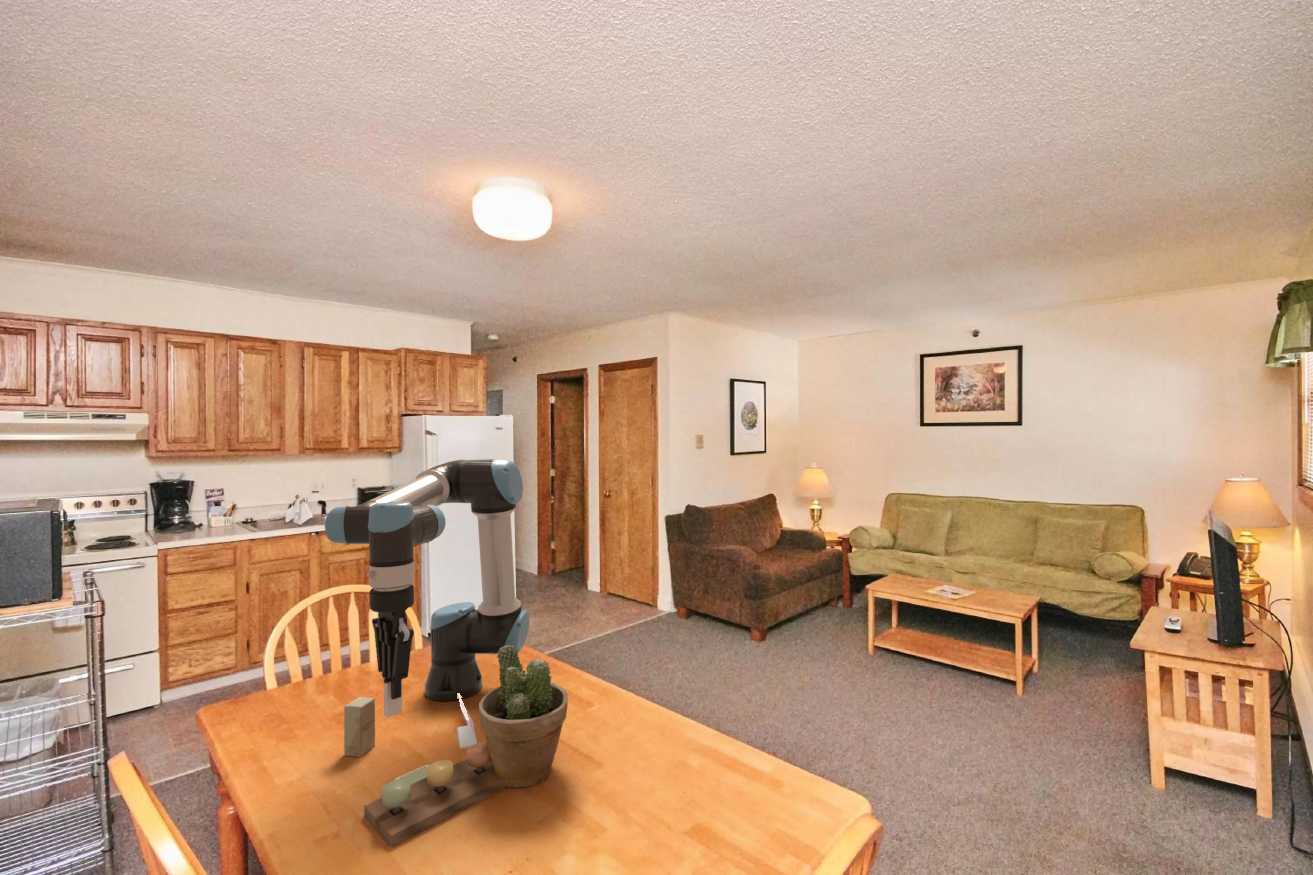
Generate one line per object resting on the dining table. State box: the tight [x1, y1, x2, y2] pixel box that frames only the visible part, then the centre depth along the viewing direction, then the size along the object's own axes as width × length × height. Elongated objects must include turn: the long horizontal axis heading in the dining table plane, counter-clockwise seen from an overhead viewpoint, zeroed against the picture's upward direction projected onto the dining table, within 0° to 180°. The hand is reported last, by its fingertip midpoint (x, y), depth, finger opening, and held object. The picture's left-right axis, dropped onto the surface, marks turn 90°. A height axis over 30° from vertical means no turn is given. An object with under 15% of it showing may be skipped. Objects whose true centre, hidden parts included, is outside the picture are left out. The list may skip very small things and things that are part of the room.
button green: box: [381, 779, 411, 814], centre depth 108 cm, size 5×5×5 cm
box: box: [343, 696, 376, 757], centre depth 132 cm, size 5×4×11 cm
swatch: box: [394, 763, 430, 785], centre depth 120 cm, size 7×7×1 cm
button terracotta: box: [466, 742, 491, 773], centre depth 120 cm, size 5×5×5 cm
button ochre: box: [427, 759, 454, 792], centre depth 114 cm, size 5×5×5 cm
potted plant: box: [478, 645, 569, 788], centre depth 122 cm, size 18×19×25 cm
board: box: [363, 758, 508, 848], centre depth 114 cm, size 24×12×2 cm, turn 137°
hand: (393, 713), depth 107 cm, fingers closed
